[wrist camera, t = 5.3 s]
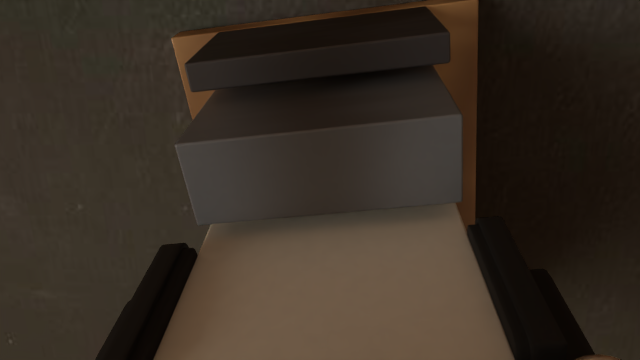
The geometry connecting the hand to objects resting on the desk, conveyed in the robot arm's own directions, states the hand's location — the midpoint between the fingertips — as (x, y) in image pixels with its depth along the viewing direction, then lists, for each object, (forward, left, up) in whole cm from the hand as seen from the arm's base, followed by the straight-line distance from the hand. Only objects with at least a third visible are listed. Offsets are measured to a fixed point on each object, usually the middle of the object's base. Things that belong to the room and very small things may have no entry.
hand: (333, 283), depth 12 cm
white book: (0, 0, -7) cm, 7 cm away
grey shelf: (0, +1, -8) cm, 8 cm away
